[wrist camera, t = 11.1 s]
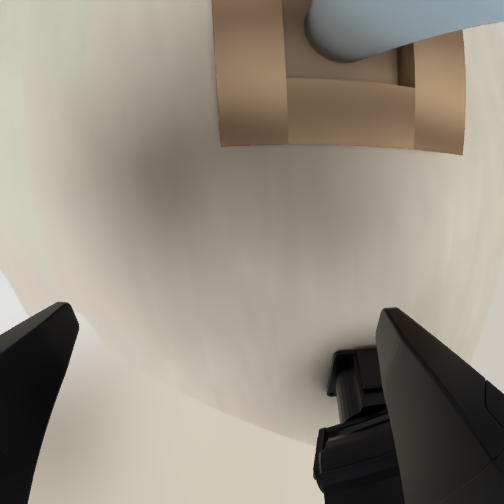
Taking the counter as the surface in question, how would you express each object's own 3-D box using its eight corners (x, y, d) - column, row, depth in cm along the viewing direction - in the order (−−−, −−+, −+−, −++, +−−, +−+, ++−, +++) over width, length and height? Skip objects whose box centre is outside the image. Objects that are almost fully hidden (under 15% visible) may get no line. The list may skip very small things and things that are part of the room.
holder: (439, 145, 17) (462, 155, 14) (228, 139, 18) (220, 146, 16) (428, -38, 10) (447, -51, 8) (218, -55, 12) (209, -75, 9)
